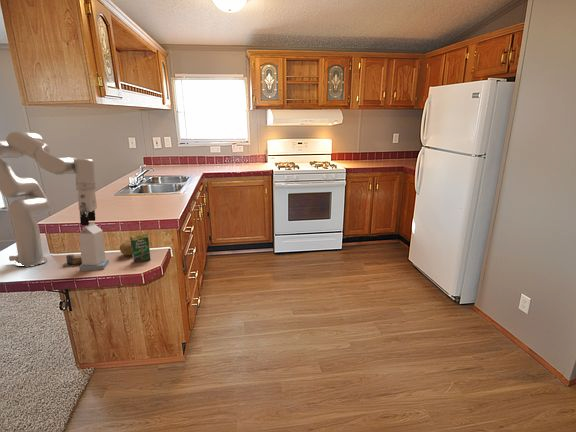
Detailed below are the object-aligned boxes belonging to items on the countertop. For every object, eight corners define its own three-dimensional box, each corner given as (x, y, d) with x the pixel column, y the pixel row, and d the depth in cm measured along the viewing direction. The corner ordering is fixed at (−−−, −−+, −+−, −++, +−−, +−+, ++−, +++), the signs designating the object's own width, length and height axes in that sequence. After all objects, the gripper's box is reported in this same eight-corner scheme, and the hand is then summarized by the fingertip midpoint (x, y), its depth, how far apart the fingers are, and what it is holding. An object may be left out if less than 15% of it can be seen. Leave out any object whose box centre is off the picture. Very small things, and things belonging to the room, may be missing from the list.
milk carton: (105, 260, 163) (101, 222, 159) (96, 265, 156) (92, 225, 152) (91, 260, 163) (87, 221, 160) (81, 265, 156) (77, 225, 153)
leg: (66, 264, 161) (65, 256, 160) (68, 262, 164) (67, 254, 163) (102, 261, 165) (101, 254, 165) (104, 259, 168) (103, 252, 168)
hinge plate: (60, 267, 159) (60, 266, 159) (65, 262, 165) (65, 262, 165) (76, 266, 160) (76, 265, 160) (81, 261, 167) (81, 261, 167)
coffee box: (133, 263, 165) (131, 237, 163) (132, 261, 167) (130, 236, 165) (150, 260, 170) (148, 235, 167) (149, 258, 172) (147, 233, 170)
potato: (114, 258, 172) (112, 243, 171) (130, 250, 186) (129, 236, 184) (132, 259, 171) (130, 244, 169) (146, 251, 185) (145, 237, 183)
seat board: (79, 271, 154) (79, 266, 154) (86, 264, 163) (85, 260, 162) (103, 269, 157) (103, 265, 156) (108, 262, 165) (108, 259, 165)
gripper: (89, 188, 145) (91, 227, 148) (100, 184, 161) (102, 219, 165) (69, 188, 143) (72, 227, 147) (82, 183, 160) (85, 219, 163)
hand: (88, 223), depth 156 cm, fingers open, 9 cm apart
